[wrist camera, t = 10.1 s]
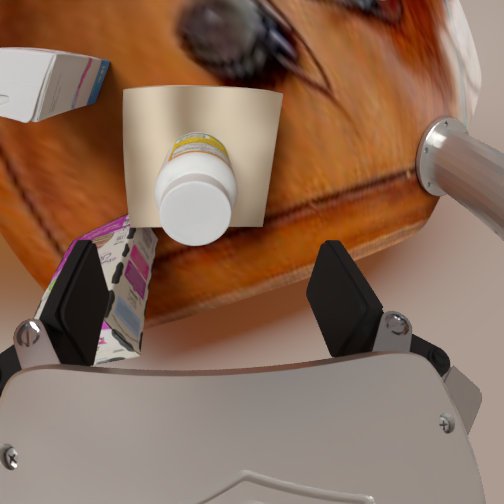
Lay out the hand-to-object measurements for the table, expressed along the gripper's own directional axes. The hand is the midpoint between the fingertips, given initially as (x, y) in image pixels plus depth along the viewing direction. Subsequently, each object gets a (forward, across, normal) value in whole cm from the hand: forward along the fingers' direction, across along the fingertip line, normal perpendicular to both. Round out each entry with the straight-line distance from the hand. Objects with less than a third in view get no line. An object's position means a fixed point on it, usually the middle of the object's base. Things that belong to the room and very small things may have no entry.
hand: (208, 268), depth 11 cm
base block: (+19, +1, 0) cm, 19 cm away
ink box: (+19, +15, -9) cm, 26 cm away
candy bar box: (+19, +11, +11) cm, 25 cm away
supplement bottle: (+14, +1, 0) cm, 14 cm away
